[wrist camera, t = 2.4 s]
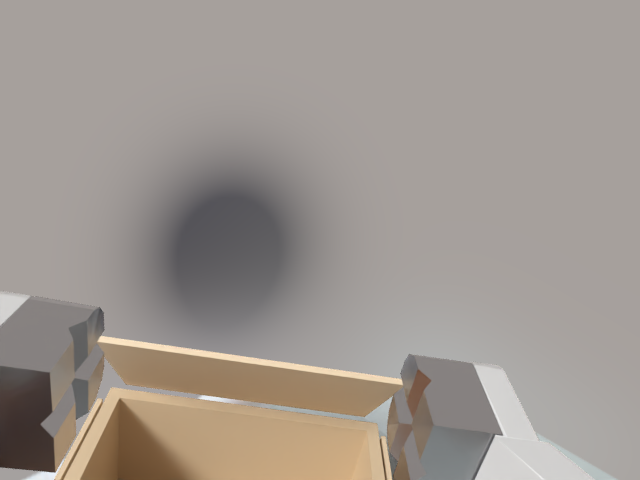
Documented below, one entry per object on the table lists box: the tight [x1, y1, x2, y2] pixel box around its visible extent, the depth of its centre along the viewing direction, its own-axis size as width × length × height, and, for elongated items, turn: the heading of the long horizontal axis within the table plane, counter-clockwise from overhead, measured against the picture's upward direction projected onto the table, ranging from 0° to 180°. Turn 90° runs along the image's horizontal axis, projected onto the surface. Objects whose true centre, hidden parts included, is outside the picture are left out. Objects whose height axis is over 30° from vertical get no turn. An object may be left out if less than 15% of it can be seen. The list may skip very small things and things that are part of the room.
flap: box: [97, 336, 403, 417], centre depth 30 cm, size 16×1×10 cm
